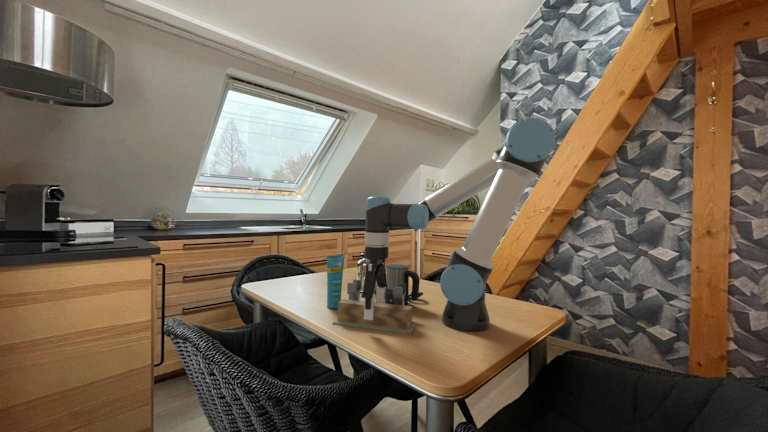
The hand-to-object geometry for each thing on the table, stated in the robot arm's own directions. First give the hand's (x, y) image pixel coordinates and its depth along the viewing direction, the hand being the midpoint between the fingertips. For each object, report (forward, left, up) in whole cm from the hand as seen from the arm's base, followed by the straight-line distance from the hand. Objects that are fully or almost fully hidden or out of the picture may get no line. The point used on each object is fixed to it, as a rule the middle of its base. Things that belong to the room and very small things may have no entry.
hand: (374, 312), depth 107 cm
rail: (0, 0, -3) cm, 3 cm away
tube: (+19, -13, -4) cm, 23 cm away
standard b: (+10, -9, -4) cm, 14 cm away
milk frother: (-4, -29, -4) cm, 29 cm away
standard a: (-6, -9, -4) cm, 11 cm away
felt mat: (0, 0, -4) cm, 4 cm away
